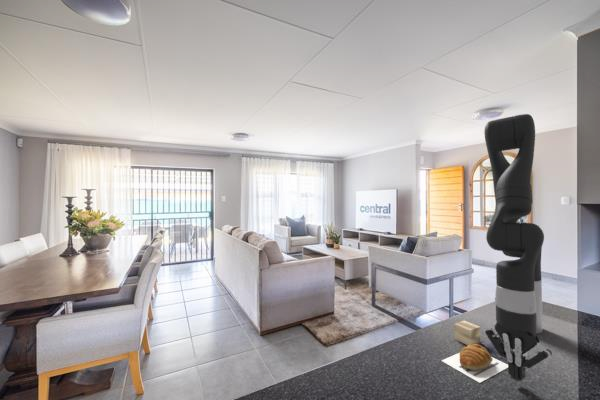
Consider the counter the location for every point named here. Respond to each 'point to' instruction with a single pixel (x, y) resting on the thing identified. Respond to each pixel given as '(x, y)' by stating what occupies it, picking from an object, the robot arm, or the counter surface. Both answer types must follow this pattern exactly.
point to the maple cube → (467, 332)
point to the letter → (479, 375)
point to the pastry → (475, 357)
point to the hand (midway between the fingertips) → (516, 378)
